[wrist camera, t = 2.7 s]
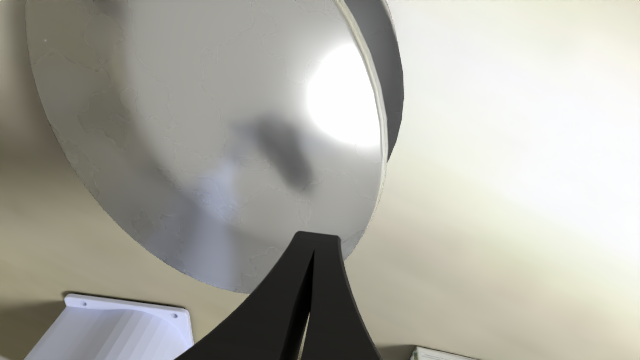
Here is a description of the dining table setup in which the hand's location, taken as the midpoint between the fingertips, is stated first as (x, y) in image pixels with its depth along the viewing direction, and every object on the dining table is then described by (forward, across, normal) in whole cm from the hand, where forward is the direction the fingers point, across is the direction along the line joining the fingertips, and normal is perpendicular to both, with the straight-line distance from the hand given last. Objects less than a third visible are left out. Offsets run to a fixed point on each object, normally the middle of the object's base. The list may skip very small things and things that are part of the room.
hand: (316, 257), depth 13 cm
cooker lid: (+4, +5, -4) cm, 8 cm away
